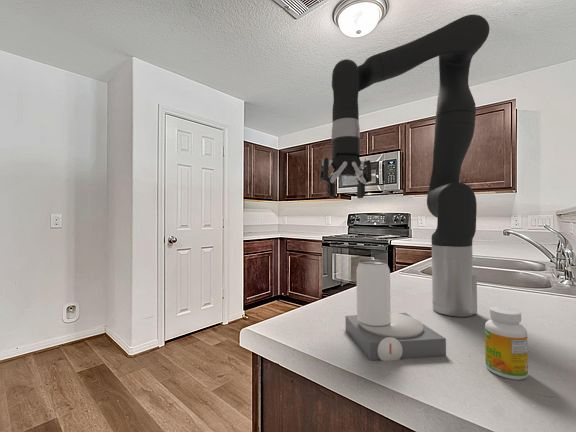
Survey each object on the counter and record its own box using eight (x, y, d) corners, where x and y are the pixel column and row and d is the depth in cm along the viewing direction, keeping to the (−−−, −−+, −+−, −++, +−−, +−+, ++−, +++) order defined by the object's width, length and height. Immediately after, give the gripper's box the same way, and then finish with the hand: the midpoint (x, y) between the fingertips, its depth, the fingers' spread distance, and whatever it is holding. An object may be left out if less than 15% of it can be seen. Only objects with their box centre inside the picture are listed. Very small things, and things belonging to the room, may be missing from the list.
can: (383, 330, 53) (382, 265, 53) (351, 322, 57) (350, 262, 57) (395, 320, 58) (394, 261, 58) (365, 313, 62) (364, 258, 62)
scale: (405, 328, 65) (405, 309, 65) (448, 360, 50) (447, 335, 50) (345, 332, 63) (345, 312, 64) (371, 365, 49) (371, 339, 49)
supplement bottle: (477, 363, 48) (476, 305, 48) (507, 361, 49) (506, 304, 49) (504, 381, 43) (503, 316, 43) (537, 379, 43) (536, 314, 43)
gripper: (327, 132, 73) (328, 196, 73) (376, 136, 77) (377, 197, 77) (316, 140, 80) (317, 198, 80) (361, 143, 84) (362, 199, 84)
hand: (346, 197), depth 78 cm, fingers open, 8 cm apart
